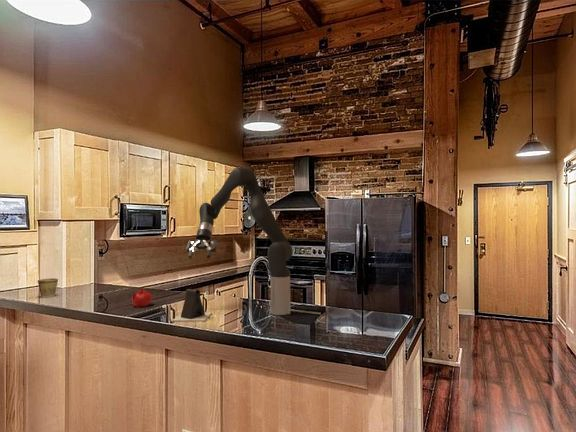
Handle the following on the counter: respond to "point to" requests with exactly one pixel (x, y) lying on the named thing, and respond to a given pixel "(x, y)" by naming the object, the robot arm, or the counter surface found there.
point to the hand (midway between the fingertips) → (199, 257)
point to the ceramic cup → (47, 287)
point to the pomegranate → (141, 298)
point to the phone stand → (192, 305)
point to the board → (201, 318)
